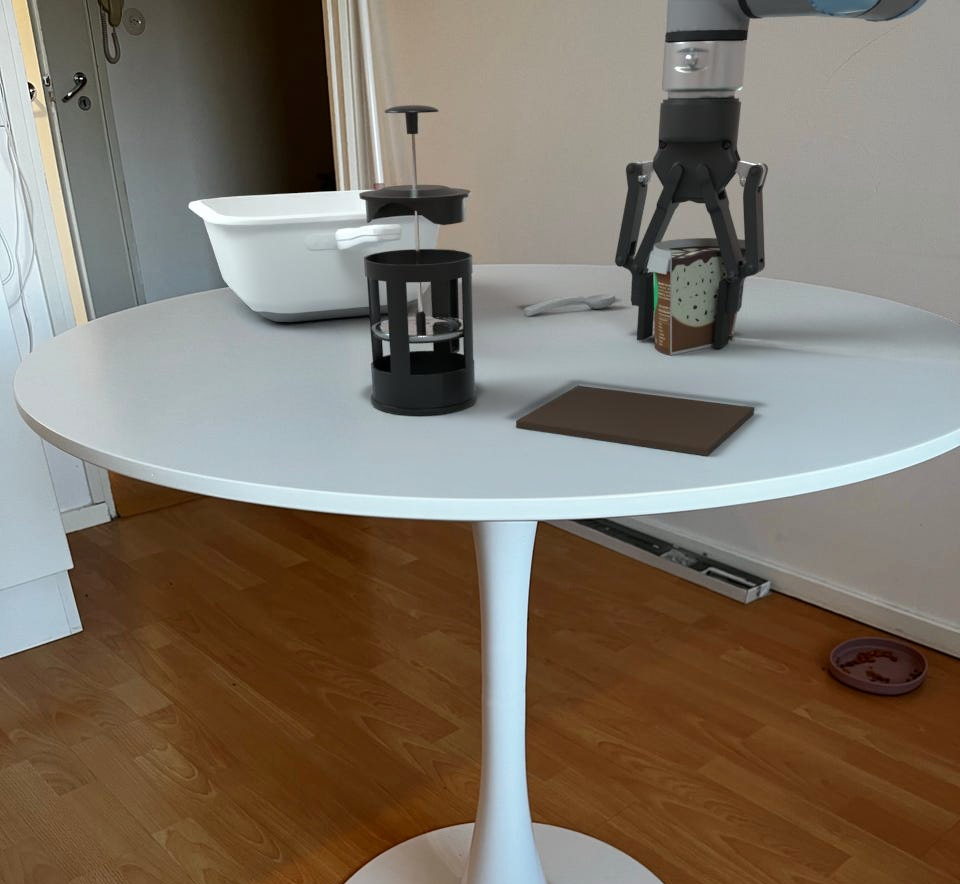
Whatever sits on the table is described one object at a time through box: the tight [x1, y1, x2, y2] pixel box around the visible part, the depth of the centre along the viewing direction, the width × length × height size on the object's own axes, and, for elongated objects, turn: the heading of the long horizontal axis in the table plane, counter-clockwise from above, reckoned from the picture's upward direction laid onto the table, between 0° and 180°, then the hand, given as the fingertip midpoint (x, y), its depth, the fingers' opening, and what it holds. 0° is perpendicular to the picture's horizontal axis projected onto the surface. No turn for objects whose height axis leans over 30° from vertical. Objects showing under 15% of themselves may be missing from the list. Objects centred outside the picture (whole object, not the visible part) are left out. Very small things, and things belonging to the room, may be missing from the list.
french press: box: [359, 104, 478, 416], centre depth 83 cm, size 12×9×23 cm
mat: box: [515, 385, 755, 457], centre depth 82 cm, size 16×12×1 cm
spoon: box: [523, 293, 616, 317], centre depth 122 cm, size 3×12×2 cm, turn 112°
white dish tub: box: [188, 189, 441, 323], centre depth 117 cm, size 28×44×13 cm, turn 21°
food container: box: [647, 237, 746, 356], centre depth 104 cm, size 12×6×10 cm, turn 127°
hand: (682, 341), depth 106 cm, fingers open, 8 cm apart
